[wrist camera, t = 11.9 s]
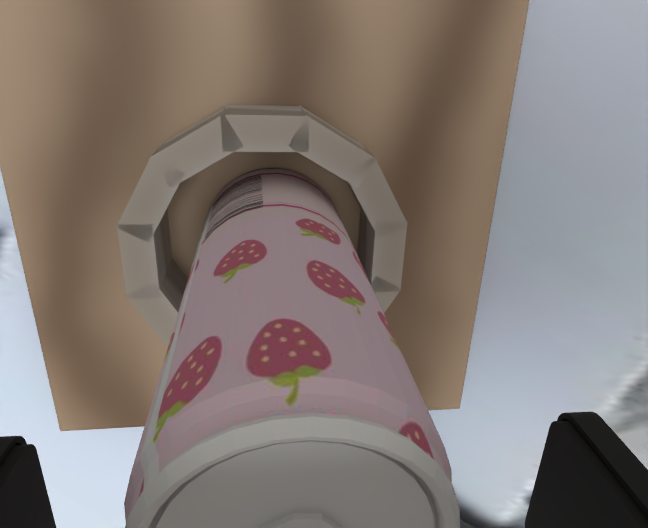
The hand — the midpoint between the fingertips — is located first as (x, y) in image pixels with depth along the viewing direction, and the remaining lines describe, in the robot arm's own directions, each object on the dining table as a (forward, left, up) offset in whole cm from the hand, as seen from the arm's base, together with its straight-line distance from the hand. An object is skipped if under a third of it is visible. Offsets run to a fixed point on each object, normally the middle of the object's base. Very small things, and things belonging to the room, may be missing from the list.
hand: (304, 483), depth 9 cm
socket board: (+1, 0, -14) cm, 14 cm away
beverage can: (0, 0, -14) cm, 14 cm away
